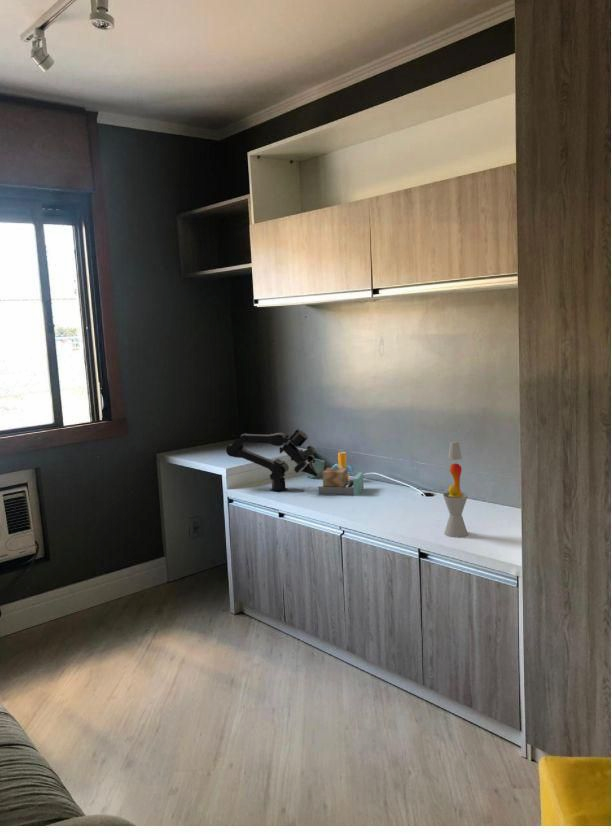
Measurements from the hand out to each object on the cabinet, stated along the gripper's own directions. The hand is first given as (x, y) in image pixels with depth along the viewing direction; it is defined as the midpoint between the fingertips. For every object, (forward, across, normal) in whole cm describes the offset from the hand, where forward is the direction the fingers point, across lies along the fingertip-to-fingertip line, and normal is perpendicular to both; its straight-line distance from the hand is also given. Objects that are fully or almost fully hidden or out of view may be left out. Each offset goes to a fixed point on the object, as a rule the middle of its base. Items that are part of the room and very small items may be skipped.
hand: (317, 475), depth 324 cm
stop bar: (+20, 0, -9) cm, 22 cm away
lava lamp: (+54, -58, -43) cm, 91 cm away
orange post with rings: (+11, +21, 0) cm, 24 cm away
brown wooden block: (+9, 0, -3) cm, 10 cm away
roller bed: (+13, 0, -2) cm, 13 cm away
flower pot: (-1, +28, +12) cm, 31 cm away
